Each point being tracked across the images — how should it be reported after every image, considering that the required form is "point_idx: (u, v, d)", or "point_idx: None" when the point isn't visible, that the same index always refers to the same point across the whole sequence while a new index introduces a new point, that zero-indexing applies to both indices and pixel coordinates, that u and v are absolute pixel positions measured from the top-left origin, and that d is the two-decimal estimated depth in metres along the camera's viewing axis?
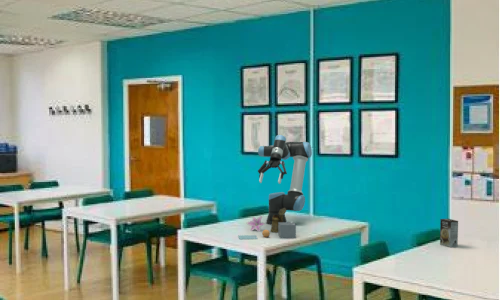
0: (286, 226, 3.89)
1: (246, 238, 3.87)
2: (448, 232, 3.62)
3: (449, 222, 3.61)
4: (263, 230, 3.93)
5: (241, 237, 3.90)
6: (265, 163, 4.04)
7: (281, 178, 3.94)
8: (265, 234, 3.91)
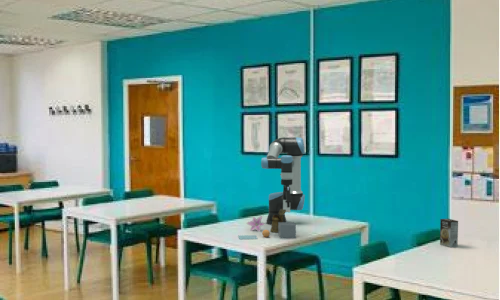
0: (286, 226, 3.89)
1: (246, 238, 3.87)
2: (448, 232, 3.62)
3: (449, 222, 3.61)
4: (263, 230, 3.93)
5: (241, 237, 3.90)
6: None
7: (288, 207, 3.86)
8: (265, 234, 3.91)
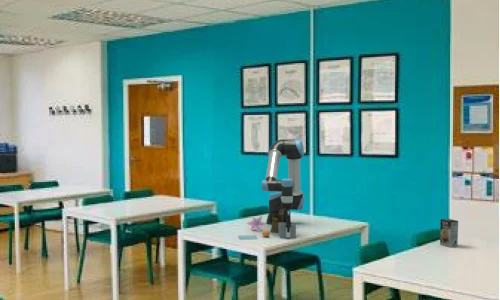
0: None
1: (246, 238, 3.87)
2: (448, 232, 3.62)
3: (449, 222, 3.61)
4: (263, 230, 3.93)
5: (241, 237, 3.90)
6: None
7: (288, 232, 3.88)
8: (265, 234, 3.91)
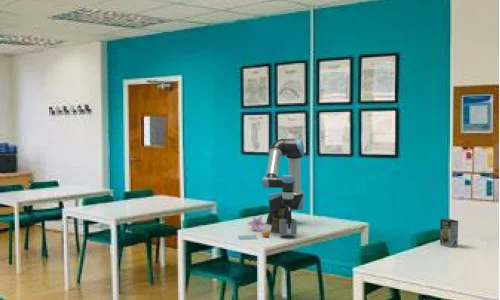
0: None
1: (246, 238, 3.87)
2: (448, 232, 3.62)
3: (449, 222, 3.61)
4: (263, 230, 3.93)
5: (241, 237, 3.90)
6: None
7: (289, 228, 3.88)
8: (265, 234, 3.91)
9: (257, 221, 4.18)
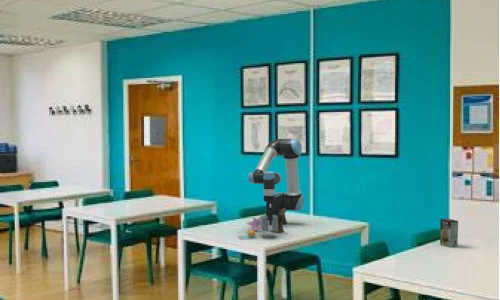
0: None
1: (246, 238, 3.87)
2: (448, 232, 3.62)
3: (449, 222, 3.61)
4: None
5: (241, 237, 3.90)
6: None
7: (270, 225, 3.87)
8: (252, 233, 3.90)
9: (257, 221, 4.18)
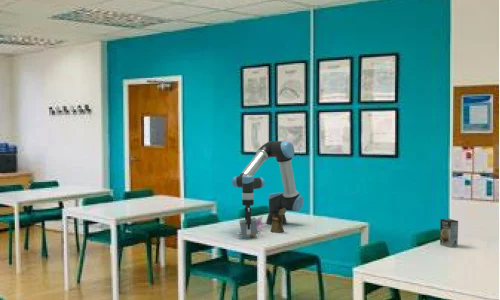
0: None
1: (246, 238, 3.87)
2: (448, 232, 3.62)
3: (449, 222, 3.61)
4: (255, 235, 3.92)
5: (241, 237, 3.90)
6: None
7: (249, 229, 3.85)
8: None
9: (257, 221, 4.17)
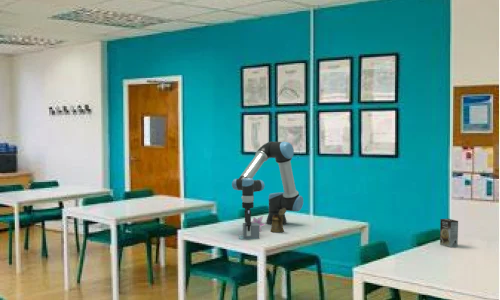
0: None
1: None
2: (448, 232, 3.62)
3: (449, 222, 3.61)
4: None
5: (241, 237, 3.90)
6: None
7: (249, 230, 3.84)
8: None
9: (257, 221, 4.17)
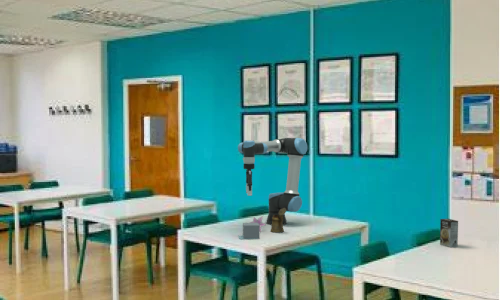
0: (250, 227, 3.86)
1: None
2: (448, 232, 3.62)
3: (449, 222, 3.61)
4: None
5: (241, 237, 3.90)
6: None
7: (250, 190, 3.98)
8: None
9: (257, 221, 4.17)
